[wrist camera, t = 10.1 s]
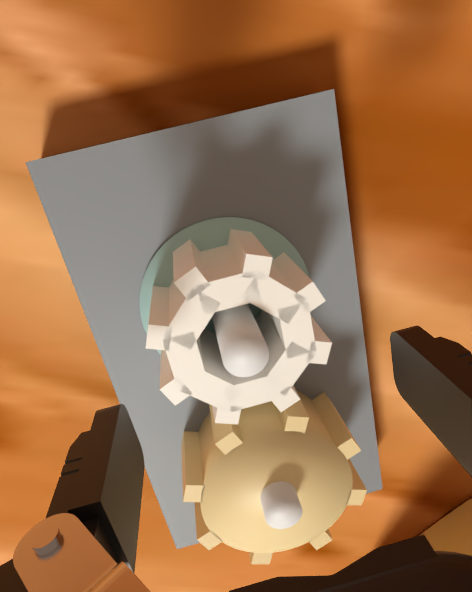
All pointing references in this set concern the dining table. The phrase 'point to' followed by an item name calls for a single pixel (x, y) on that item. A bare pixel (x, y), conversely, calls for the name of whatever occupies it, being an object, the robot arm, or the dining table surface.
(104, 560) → the robot arm
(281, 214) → the gear board
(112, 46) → the dining table surface
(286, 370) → the nylon gear
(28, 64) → the dining table surface
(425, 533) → the cheese
